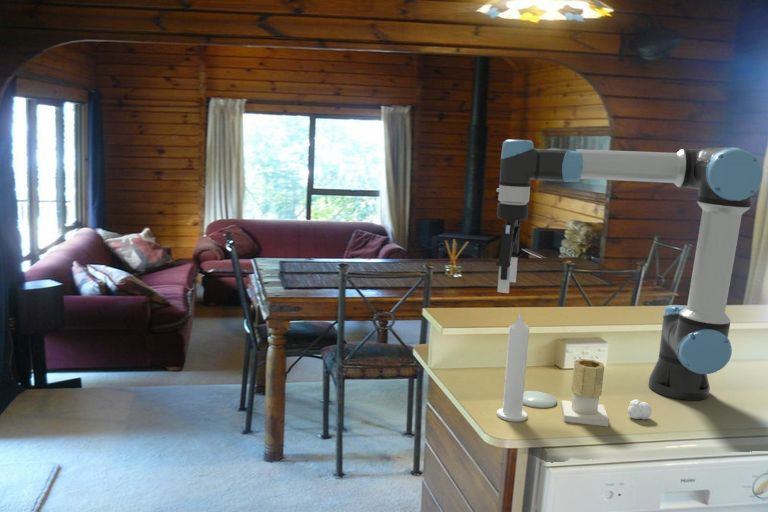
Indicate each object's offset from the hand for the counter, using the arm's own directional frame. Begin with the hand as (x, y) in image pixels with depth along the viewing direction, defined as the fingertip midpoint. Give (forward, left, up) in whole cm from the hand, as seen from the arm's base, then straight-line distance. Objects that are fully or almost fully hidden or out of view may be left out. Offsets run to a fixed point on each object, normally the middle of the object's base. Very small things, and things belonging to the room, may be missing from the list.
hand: (506, 287), depth 187 cm
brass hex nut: (-20, +12, -21) cm, 32 cm away
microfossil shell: (-33, +9, -28) cm, 44 cm away
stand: (-20, +12, -27) cm, 36 cm away
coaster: (-9, +5, -27) cm, 29 cm away
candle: (-3, +17, -28) cm, 32 cm away
